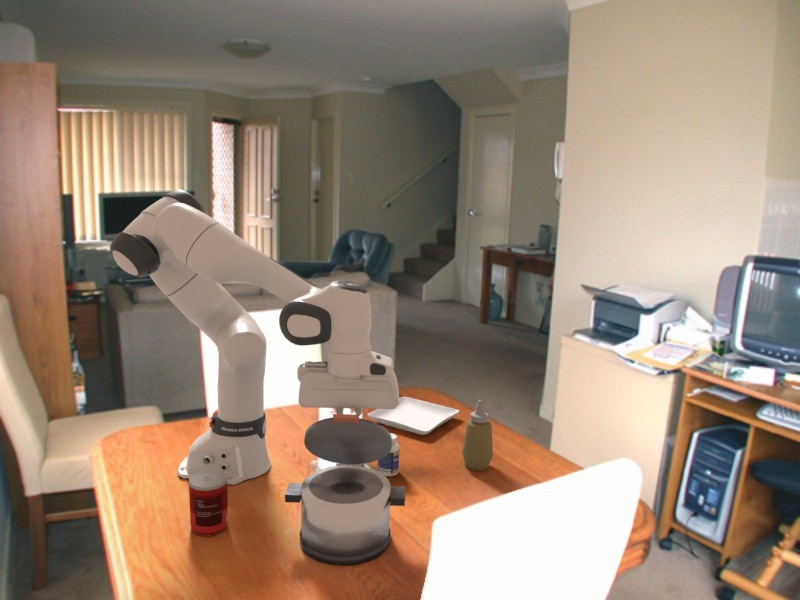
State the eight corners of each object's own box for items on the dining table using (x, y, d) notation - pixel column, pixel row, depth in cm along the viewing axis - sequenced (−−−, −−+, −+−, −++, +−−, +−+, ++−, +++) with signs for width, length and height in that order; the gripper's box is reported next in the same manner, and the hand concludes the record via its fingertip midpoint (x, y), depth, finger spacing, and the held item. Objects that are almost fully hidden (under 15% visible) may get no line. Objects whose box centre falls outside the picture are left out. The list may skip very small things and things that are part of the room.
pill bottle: (396, 478, 162) (397, 441, 160) (375, 475, 163) (376, 439, 161) (400, 468, 167) (401, 433, 165) (380, 466, 168) (381, 430, 166)
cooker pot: (278, 563, 126) (278, 506, 123) (295, 511, 145) (295, 460, 143) (403, 567, 126) (405, 510, 123) (403, 515, 145) (405, 464, 142)
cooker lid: (299, 418, 126) (300, 411, 127) (308, 463, 141) (309, 456, 142) (392, 421, 126) (392, 414, 127) (391, 465, 141) (391, 459, 142)
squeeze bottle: (489, 459, 174) (493, 395, 171) (494, 473, 166) (499, 406, 163) (459, 459, 174) (462, 395, 170) (463, 473, 166) (466, 406, 162)
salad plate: (460, 419, 203) (461, 408, 202) (426, 442, 185) (427, 430, 184) (402, 405, 214) (403, 395, 213) (365, 425, 196) (365, 414, 195)
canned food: (213, 513, 143) (212, 466, 141) (236, 526, 138) (235, 478, 136) (182, 527, 137) (180, 478, 135) (204, 541, 132) (203, 491, 130)
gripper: (294, 365, 127) (295, 432, 130) (399, 367, 127) (398, 434, 130) (299, 356, 133) (300, 420, 136) (399, 358, 133) (398, 422, 136)
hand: (349, 427), depth 133 cm, fingers closed
